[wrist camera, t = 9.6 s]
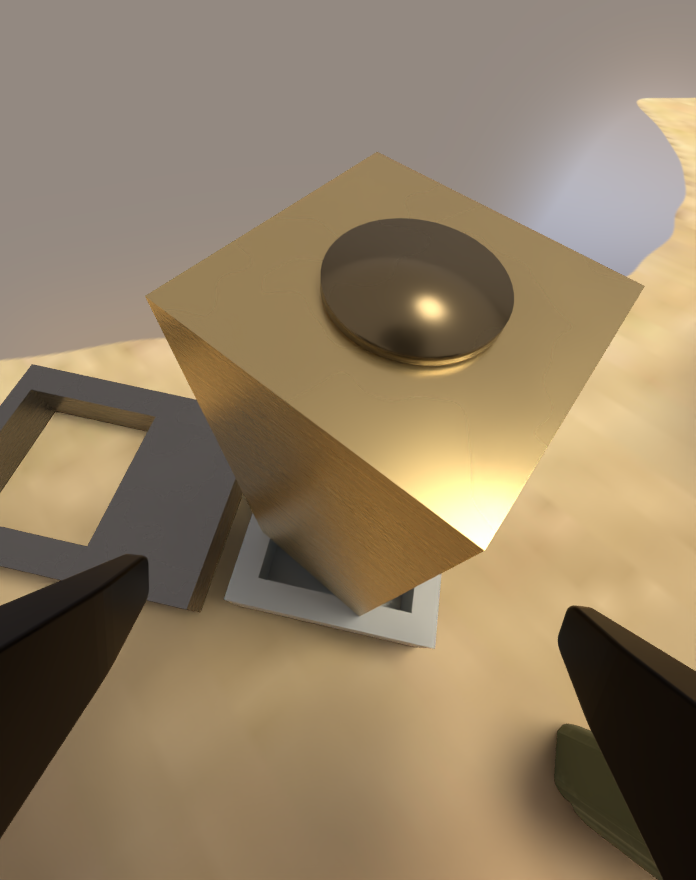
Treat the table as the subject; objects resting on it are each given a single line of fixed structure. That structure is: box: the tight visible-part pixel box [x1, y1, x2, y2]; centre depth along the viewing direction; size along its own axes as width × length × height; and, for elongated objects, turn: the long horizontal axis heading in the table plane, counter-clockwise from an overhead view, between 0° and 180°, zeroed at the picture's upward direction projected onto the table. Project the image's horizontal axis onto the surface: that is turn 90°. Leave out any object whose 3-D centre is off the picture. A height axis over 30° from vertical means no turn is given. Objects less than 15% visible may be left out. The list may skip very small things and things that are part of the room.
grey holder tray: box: [0, 364, 243, 613], centre depth 18 cm, size 12×9×2 cm
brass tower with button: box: [145, 152, 645, 617], centre depth 10 cm, size 5×5×12 cm
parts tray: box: [224, 513, 441, 649], centre depth 17 cm, size 8×8×3 cm
